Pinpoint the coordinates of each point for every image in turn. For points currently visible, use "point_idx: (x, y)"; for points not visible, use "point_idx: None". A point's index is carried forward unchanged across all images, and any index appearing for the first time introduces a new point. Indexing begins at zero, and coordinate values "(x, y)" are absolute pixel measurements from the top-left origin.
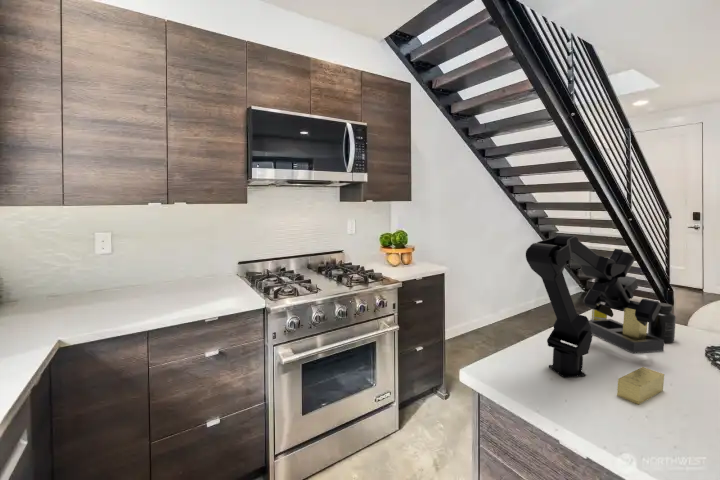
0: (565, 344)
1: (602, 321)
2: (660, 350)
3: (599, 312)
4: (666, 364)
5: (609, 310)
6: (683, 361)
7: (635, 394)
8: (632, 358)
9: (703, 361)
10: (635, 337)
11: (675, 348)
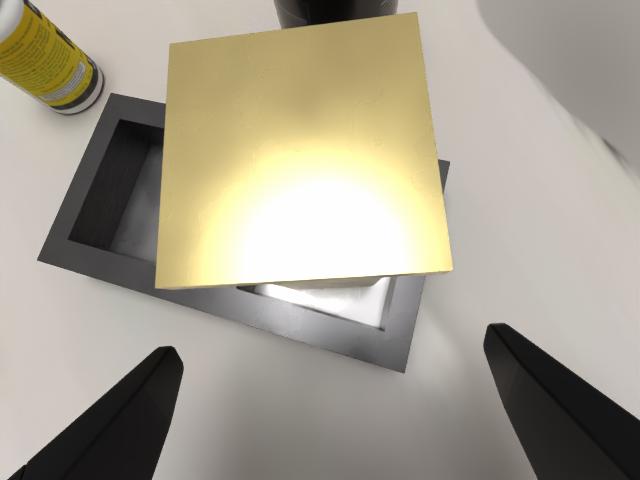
0: None
1: (103, 164)
2: None
3: (27, 67)
4: (549, 350)
5: (117, 460)
6: (550, 232)
7: None
8: (433, 435)
9: (580, 149)
10: (359, 282)
11: (433, 106)
